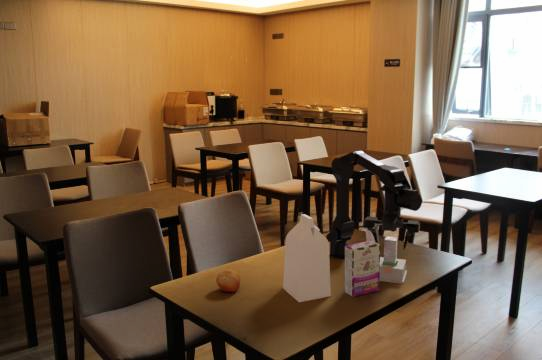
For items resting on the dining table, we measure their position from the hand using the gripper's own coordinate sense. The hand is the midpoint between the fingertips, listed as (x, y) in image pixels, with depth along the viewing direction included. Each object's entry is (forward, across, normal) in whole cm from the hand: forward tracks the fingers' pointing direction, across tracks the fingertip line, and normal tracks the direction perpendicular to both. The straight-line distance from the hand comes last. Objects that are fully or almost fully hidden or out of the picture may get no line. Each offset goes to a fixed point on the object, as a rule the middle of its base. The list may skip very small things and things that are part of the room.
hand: (390, 247), depth 183 cm
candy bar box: (+11, -7, -17) cm, 21 cm away
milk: (+11, -24, -23) cm, 35 cm away
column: (+6, 0, 0) cm, 6 cm away
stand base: (+11, 0, 0) cm, 11 cm away
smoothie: (+11, -12, +33) cm, 37 cm away
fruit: (+11, -49, -30) cm, 58 cm away
